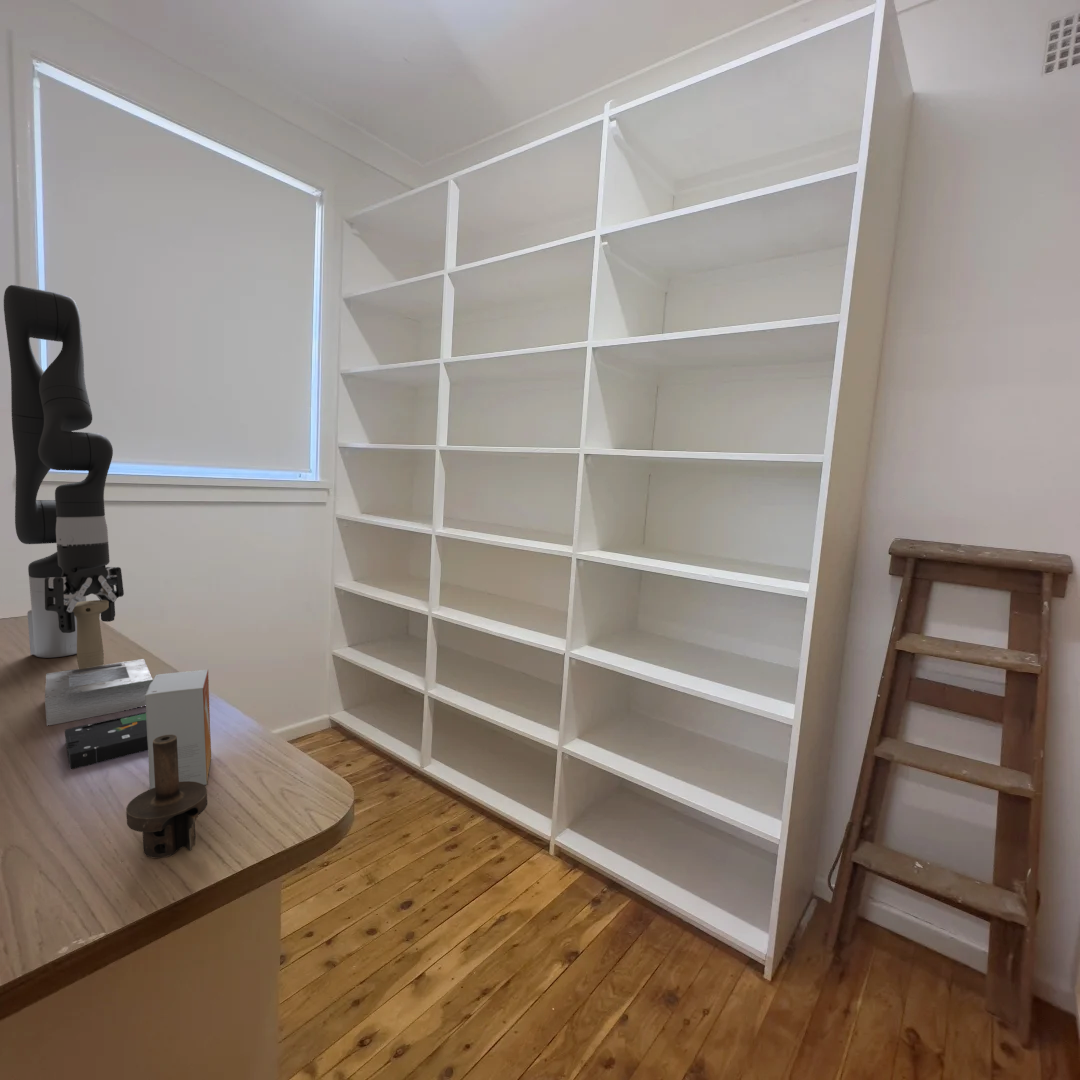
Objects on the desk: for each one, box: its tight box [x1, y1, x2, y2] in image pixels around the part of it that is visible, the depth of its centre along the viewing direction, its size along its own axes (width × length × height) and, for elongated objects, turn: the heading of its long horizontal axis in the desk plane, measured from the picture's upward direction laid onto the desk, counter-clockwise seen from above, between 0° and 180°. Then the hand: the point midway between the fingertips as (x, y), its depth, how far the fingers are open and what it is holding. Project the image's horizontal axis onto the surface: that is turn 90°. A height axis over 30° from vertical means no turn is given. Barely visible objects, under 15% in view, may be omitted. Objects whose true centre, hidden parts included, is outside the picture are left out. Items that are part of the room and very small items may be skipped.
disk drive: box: [64, 711, 148, 770], centre depth 85 cm, size 10×3×15 cm
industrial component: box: [125, 735, 208, 859], centre depth 62 cm, size 9×7×12 cm
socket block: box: [44, 658, 154, 727], centre depth 99 cm, size 14×14×5 cm
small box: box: [145, 669, 212, 790], centre depth 75 cm, size 8×6×13 cm
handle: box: [66, 599, 109, 669], centre depth 108 cm, size 5×6×15 cm
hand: (88, 626), depth 108 cm, fingers open, 8 cm apart
